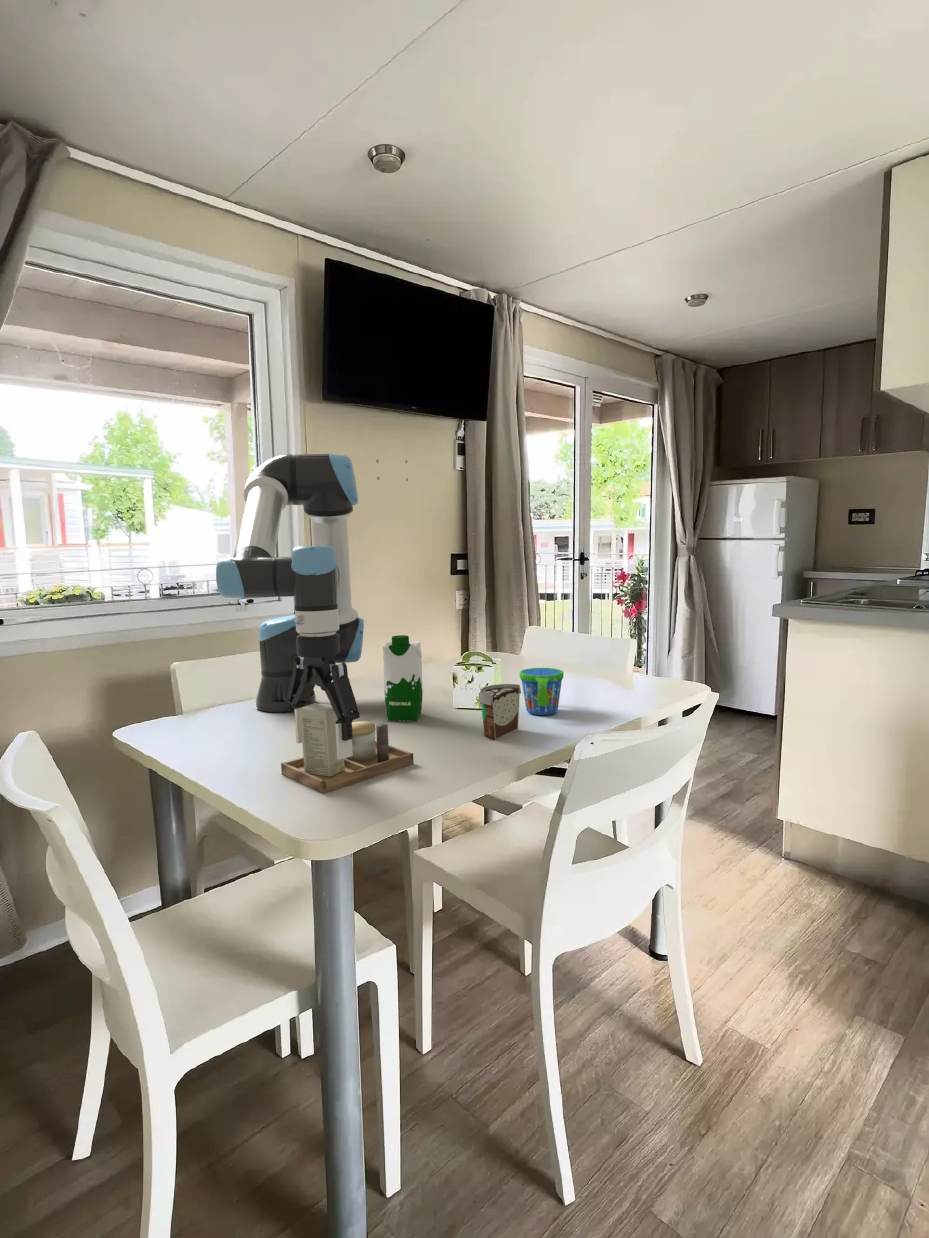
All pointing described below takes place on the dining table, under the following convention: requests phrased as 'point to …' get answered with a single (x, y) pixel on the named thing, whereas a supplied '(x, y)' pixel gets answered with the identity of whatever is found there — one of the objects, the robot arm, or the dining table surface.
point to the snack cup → (541, 689)
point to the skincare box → (320, 740)
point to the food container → (500, 709)
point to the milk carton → (402, 679)
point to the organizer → (355, 760)
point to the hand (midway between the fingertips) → (323, 749)
